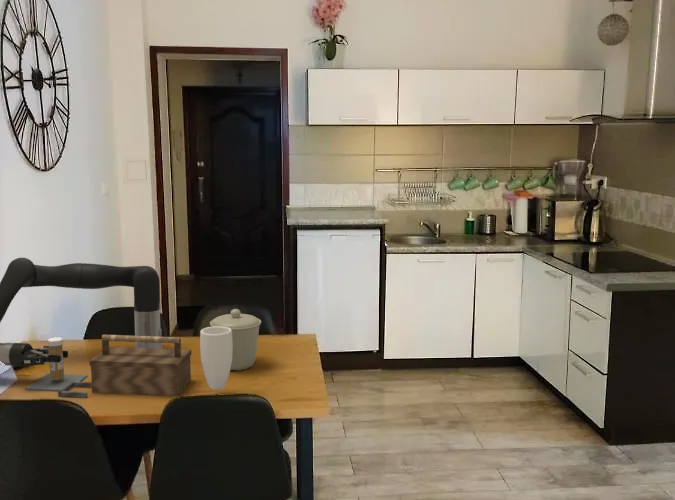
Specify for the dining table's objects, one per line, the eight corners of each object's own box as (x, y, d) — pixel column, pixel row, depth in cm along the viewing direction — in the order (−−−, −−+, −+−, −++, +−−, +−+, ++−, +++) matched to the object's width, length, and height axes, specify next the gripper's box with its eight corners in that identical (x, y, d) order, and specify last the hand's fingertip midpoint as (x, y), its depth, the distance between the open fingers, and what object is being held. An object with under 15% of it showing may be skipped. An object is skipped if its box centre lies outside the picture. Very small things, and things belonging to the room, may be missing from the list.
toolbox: (58, 396, 208) (55, 344, 205) (85, 375, 227) (83, 327, 224) (174, 401, 205) (172, 348, 203) (191, 380, 224) (190, 331, 221)
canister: (271, 366, 239) (271, 309, 236) (231, 378, 226) (231, 318, 223) (240, 355, 251) (239, 300, 248) (200, 366, 238) (199, 309, 235)
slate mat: (25, 390, 213) (25, 388, 213) (47, 375, 227) (47, 373, 227) (68, 391, 212) (67, 390, 212) (87, 376, 226) (87, 375, 226)
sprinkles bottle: (65, 378, 218) (63, 339, 216) (50, 381, 216) (48, 341, 214) (62, 374, 222) (61, 336, 220) (48, 377, 220) (46, 338, 218)
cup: (205, 404, 203) (204, 336, 200) (196, 393, 213) (195, 327, 209) (238, 398, 208) (237, 332, 205) (227, 388, 217) (226, 324, 214)
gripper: (1, 349, 211) (52, 352, 210) (25, 337, 225) (73, 339, 224) (2, 372, 212) (54, 375, 211) (26, 358, 226) (74, 360, 225)
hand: (63, 356), depth 218 cm, fingers closed on sprinkles bottle, 4 cm apart
